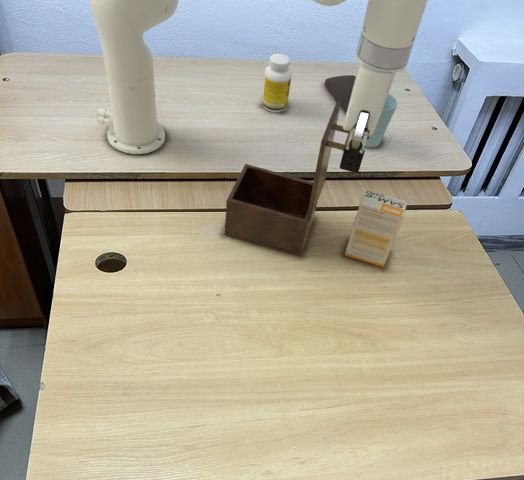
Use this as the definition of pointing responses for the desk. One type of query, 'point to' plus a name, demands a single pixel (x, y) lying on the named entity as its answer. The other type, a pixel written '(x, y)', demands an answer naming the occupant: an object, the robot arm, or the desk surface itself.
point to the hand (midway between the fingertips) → (354, 152)
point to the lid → (325, 157)
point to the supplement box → (375, 227)
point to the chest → (269, 210)
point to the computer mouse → (341, 89)
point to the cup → (382, 122)
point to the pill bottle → (276, 83)
